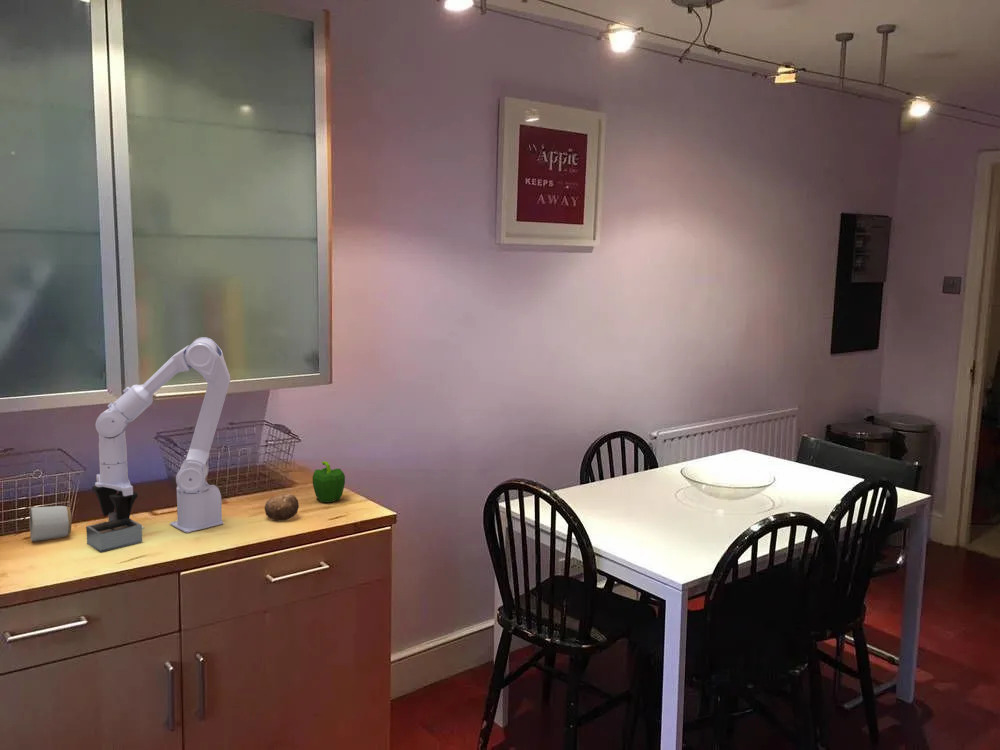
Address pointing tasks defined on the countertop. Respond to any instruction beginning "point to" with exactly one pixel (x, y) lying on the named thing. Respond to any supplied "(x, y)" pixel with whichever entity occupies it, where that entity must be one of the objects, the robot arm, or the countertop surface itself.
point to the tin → (114, 534)
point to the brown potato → (281, 507)
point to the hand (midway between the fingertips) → (115, 519)
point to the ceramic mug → (49, 522)
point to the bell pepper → (328, 483)
